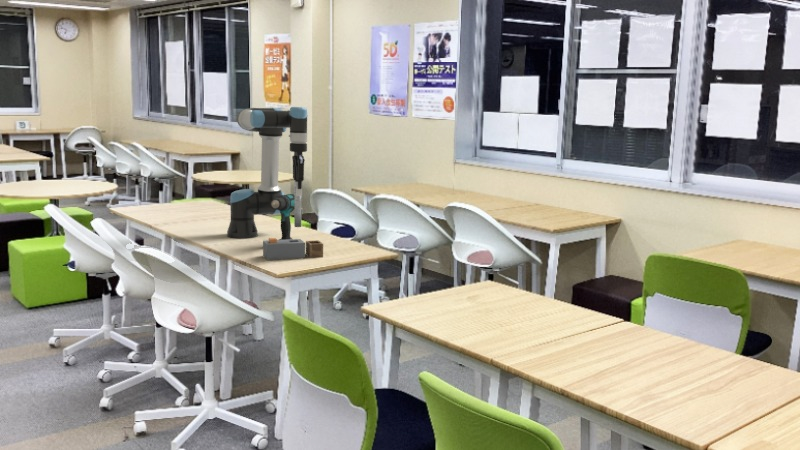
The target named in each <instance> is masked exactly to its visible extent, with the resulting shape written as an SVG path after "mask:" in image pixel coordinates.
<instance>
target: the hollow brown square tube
mask: <svg viewBox="0 0 800 450" xmlns="http://www.w3.org/2000/svg"><path fill="white" fill-rule="evenodd" d="M305 255H306V256H308V257H309V258H323V257H324V243H323V242H321V241H320V240H306V241H305Z"/></svg>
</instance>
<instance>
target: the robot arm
mask: <svg viewBox="0 0 800 450" xmlns="http://www.w3.org/2000/svg"><path fill="white" fill-rule="evenodd" d="M308 116H309V115H308V108H307V107H303V106H291V107H290V109H289V110H288V109H287V110H283V109H281V108H276V107H275V108H274V107H249V108H245V109H243V110H241V111H239V113H238V114H237V117H236V121H237V124H238V126H239V128H241V129H243V130H244V131H248V132H251V133H252V132H254V133H255V132H256V133H258V136H259V137H260V139H261V160H260V161H261V164H260V165H261V168H260V170H261V171H260V185H259V186H258V187H257V191H255V190H254V189H253V188H244V189H243V188H242V189H239V190H238V189H237V190H235V191H233V192H231V193H230V201H229V203H230V221H229V225H228V227H227V231H226V232H227V234H226V235H227V237H229V238H232V239H249V238H250V239H251V238H256V237H258V234H259V233H258V229H257V228H258V227H257V226H256V225H257V224H256V221H255V216H257V215H278V214H281V213H280V211H279V210H276V209H273V208H272V207H271V204H270V203H271V201H272V200H273V199H274V198H277V197H278V196H280V195H285V193H284V191H282V189H281V188H282V187H280V186H279V160H280V139H281V138H282V137H283V133H285V132H286V131H287V129H288V128H289V134H288V137H289V151H290V152H292V153H293V155H292V157H291V158H292V178H293V189H294V190H293V194H294V195H295V186H296V196H301V197H303V182H304V181H305V174H304V173H305V170H304V169H305V157H304V155H303V153H306V152H307V151H308V144H307V142H308Z"/></svg>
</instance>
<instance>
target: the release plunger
mask: <svg viewBox="0 0 800 450" xmlns="http://www.w3.org/2000/svg"><path fill="white" fill-rule="evenodd" d="M268 240H269V243H277V240H278V239H277V238H276V237H271V238H268Z"/></svg>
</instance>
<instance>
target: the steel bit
mask: <svg viewBox="0 0 800 450" xmlns="http://www.w3.org/2000/svg"><path fill="white" fill-rule="evenodd" d="M301 227H302V196H296V186H295V209H294V228H301Z"/></svg>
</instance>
